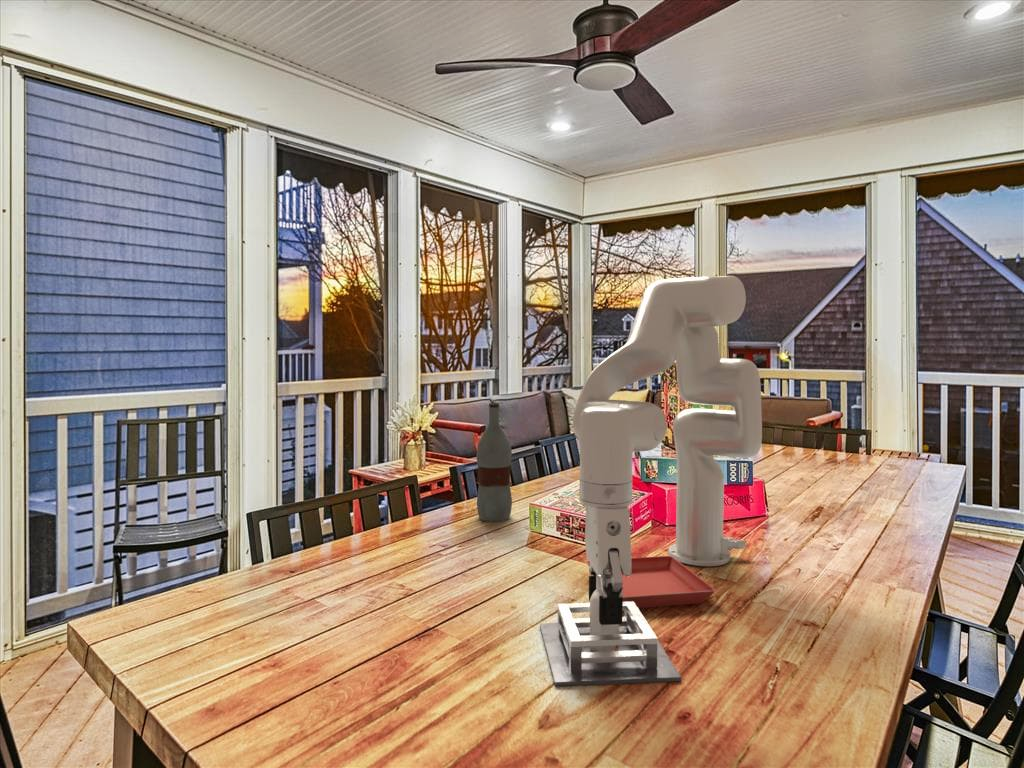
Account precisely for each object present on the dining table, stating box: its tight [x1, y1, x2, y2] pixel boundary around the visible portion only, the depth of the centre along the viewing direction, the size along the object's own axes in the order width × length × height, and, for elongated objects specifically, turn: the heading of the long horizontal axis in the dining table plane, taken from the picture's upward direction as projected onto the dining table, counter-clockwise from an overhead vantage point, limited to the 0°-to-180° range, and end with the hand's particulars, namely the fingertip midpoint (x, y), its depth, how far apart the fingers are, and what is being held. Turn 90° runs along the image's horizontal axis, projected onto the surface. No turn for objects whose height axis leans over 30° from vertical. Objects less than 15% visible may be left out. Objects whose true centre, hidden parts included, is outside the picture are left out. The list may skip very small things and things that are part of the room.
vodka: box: [476, 402, 513, 522], centre depth 158 cm, size 9×9×30 cm
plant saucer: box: [586, 555, 716, 609], centre depth 112 cm, size 18×18×3 cm
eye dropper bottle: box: [589, 570, 619, 652], centre depth 89 cm, size 4×6×12 cm
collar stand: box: [539, 601, 682, 687], centre depth 89 cm, size 17×17×5 cm
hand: (604, 611), depth 89 cm, fingers open, 6 cm apart
